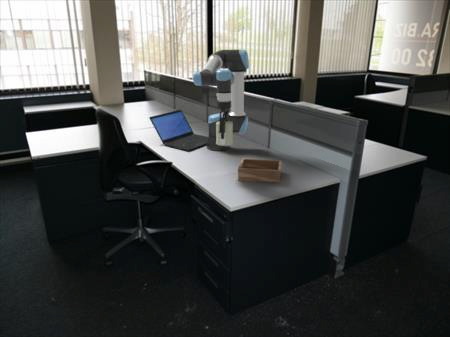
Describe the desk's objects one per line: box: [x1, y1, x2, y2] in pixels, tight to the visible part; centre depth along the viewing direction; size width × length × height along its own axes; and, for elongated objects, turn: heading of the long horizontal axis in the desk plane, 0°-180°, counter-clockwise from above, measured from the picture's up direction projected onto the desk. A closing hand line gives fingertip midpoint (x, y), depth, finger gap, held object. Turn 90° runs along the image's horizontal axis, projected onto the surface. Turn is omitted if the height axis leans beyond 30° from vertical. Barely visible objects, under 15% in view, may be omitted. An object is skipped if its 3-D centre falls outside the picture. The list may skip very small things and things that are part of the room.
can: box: [216, 121, 234, 147], centre depth 189 cm, size 9×9×12 cm
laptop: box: [148, 109, 209, 152], centre depth 254 cm, size 33×38×19 cm
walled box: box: [237, 157, 282, 184], centre depth 193 cm, size 16×22×7 cm
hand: (224, 141), depth 191 cm, fingers closed on can, 9 cm apart
